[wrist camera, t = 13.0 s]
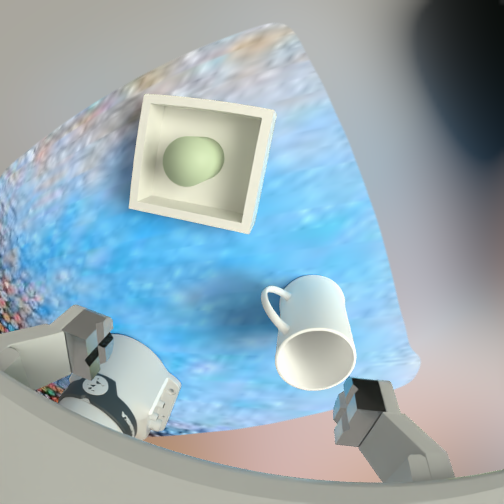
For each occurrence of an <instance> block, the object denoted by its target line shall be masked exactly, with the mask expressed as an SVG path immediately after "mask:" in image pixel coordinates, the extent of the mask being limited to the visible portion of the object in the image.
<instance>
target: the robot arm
mask: <svg viewBox="0 0 504 504" xmlns="http://www.w3.org/2000/svg"><path fill="white" fill-rule="evenodd" d="M112 329H113V321H112V319H111V318H110V317H108V316H105V315H103V314H100V313H98V312H95V311H92V310H90V309H87V308H84V307H82V306H79V305H73V306H72V307H70V308H69V309H68V310H67V311H66V312H64V313H63V314H62V315H61V316H60V317H58V318H57V319H56V320H55V321H54V322H53V323H51V324H50V325H48V324H43V325H39V326H34V327H30V328H25V329H21V330H16V331H12V332H7V333H3V334H0V504H504V469H503V470H498V471H493V472H488V473H483V474H477V475H472V476H464V477H457V478H455V476H454V472H453V469H452V466H451V463H450V460H449V457H448V454H447V452H446V451H445V450H444V449H443V448H441V447H440V446H439V445H438V444H437V443H436V442H435V441H434V440H433V439H431V438H430V437H429V436H428V435H427V434H426V433H425V432H424V431H423V430H422V429H420V428H419V427H418V426H417V425H416V424H415V423H414V422H413V421H412V420H411V419H410V418H408V417H407V416H406V415H405V414H401V413H400V409H399V406H398V403H397V399H396V396H395V393H394V390H393V387H392V384H391V382H390V381H384V380H371V379H364V378H357V377H350V376H349V377H348V378H347V379H346V381H345V383H344V391H343V392H342V393H340V394H339V395H338V397H337V399H336V401H335V405H334V410H333V420H334V421H335V422H336V423H337V426H336V427H335V429H334V433H335V444H337V445H346V446H354V447H359V450H360V451H361V453H362V454H363V455H364V457H365V458H366V460H367V461H368V462H369V464H370V465H371V467H372V468H373V469H374V471H375V472H376V474H377V475H378V476H379V478H380V479H381V481H382V482H383V483H364V482H339V481H325V480H314V479H304V478H296V477H288V476H281V475H274V474H268V473H262V472H256V471H251V470H246V469H241V468H236V467H232V466H227V465H223V464H219V463H214V462H210V461H206V460H202V459H199V458H195V457H192V456H188V455H185V454H181V453H178V452H175V451H172V450H168V449H165V448H162V447H159V446H156V445H153V444H150V443H147V442H144V441H142V440H143V439H146V438H147V436H148V434H149V432H150V430H155V431H158V432H159V430H164V428H165V427H166V424H167V422H168V419H169V417H170V414H171V412H172V409H173V406H174V404H175V401H176V399H177V396H178V394H179V391H180V389H181V383H180V381H179V380H178V379H177V378H175V377H174V376H173V375H172V374H170V373H169V372H168V371H167V370H166V368H165V367H164V365H163V364H162V362H161V361H160V359H159V358H158V357H157V356H156V355H155V354H154V353H153V352H152V351H151V350H150V349H149V348H148V347H146V346H145V345H143V344H142V343H140V342H139V341H137V340H135V339H133V338H130V337H128V336H124V335H120V334H111V333H110V331H111V330H112ZM71 373H72V375H71V376H70V378H69V381H70V385H69V386H68V387H67V388H65V390H64V391H63V393H62V395H61V396H60V398H59V401H58V403H56V402H54V401H52V400H50V399H48V398H46V397H45V396H43V395H41V394H39V393H37V392H36V391H34V390H37V389H39V388H41V387H43V386H46V385H48V384H50V383H52V382H55V381H57V380H59V379H61V378H64V377H66V376H68V375H70V374H71Z"/></svg>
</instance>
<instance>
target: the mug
mask: <svg viewBox="0 0 504 504" xmlns="http://www.w3.org/2000/svg"><path fill="white" fill-rule="evenodd" d="M268 292H272V293H275V294H277V295H279V296H281V297H280V302H279V309H280V317H279V316H278V315H277V314H276V312H275V311H274V309H273V308H272V306H271V304H270V302H269V300H268V296H267V293H268ZM261 301H262V305H263V307H264V310H265V312H266V313H267V315H268V317H269V318H270V319H271V321H272V322H273V323H274V325H275V326H276V327H277V328H278V338H277V347H276V355H275V365H276V369H277V371H278V373H279V375H280V376H281V378H282V379H283V380H284V381H286V382H287V383H288V384H290V385H292V386H294V387H296V388H299V389H303V390H310V391H316V390H324V389H328V388H331V387H333V386H335V385H337V384H339V383H341V382H342V381H343V380H345V379H346V378H347V377H348V376H349V375H350V373H351V372H352V370H353V368H354V366H355V363H356V350H355V346H354V342H353V337H352V333H351V329H350V325H349V321H348V317H347V313H346V309H345V298H344V294H343V292H342V290H341V288H340V287H339V286H338V285H337V284H336V283H335V282H334V281H333V280H331V279H329V278H327V277H324V276H320V275H306V276H302V277H299V278H297V279H295V280H294V281H292V282H291V283H290V284H289V285H288V286H287V287H286V288H285V289H284V290H283V289H282V288H279V287H276V286H268V287H266V288H265V289H264V290H263V291H262V294H261Z"/></svg>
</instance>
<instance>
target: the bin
mask: <svg viewBox="0 0 504 504" xmlns="http://www.w3.org/2000/svg"><path fill="white" fill-rule="evenodd" d="M276 117H277V114H276V112H275V111H274V110H271V109H265V108H260V107H254V106H248V105H242V104H236V103H229V102H222V101H215V100H207V99H198V98H189V97H179V96H168V95H155V94H144V98H143V104H142V110H141V115H140V121H139V128H138V134H137V141H136V148H135V155H134V163H133V172H132V180H131V190H130V201H129V209H134V210H139V211H143V212H148V213H153V214H158V215H162V216H167V217H172V218H177V219H181V220H186V221H190V222H195V223H200V224H204V225H209V226H213V227H218V228H223V229H227V230H232V231H236V232H241V233H245V234H250V232H251V230H252V228H253V226H254V224H255V220H256V215H257V210H258V205H259V200H260V195H261V190H262V185H263V180H264V175H265V170H266V166H267V161H268V156H269V151H270V146H271V141H272V136H273V131H274V126H275V121H276ZM184 136H194V137H209V138H212V139H214V140H215V141H217V142H218V143H219V144H220V146H221V147H222V149H223V152H224V164H223V167H222V169H221V171H220V172H219V173H218V174H217V175H216V176H214V177H212V178H210V179H208V180H206V181H203V182H201V183H199V184H197V185H194V186H190V187H183V186H179V185H177V184H175V183H173V182H172V181H171V180H170V179H169V178H168V177H167V175H166V174H165V171H164V168H163V155H164V152H165V150H166V148H167V147H168V145H169V144H170V143H171V142H172V141H174V140H175V139H177V138H180V137H184Z"/></svg>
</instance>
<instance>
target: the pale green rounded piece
mask: <svg viewBox="0 0 504 504" xmlns="http://www.w3.org/2000/svg"><path fill="white" fill-rule="evenodd" d="M223 164H224V152H223V149H222V147H221V146H220V144H219V143H218V142H217V141H215V140H214V139H212V138H209V137H194V136H184V137H180V138H177V139H175V140H174V141H172V142H171V143H170V144H169V145H168V147H167V148H166V150H165V152H164V155H163V168H164V171H165V174H166V175H167V177H168V178H169V179H170V180H171V181H172V182H173V183H175V184H177V185H179V186H183V187H190V186H194V185H197V184H199V183H201V182H203V181H206V180H208V179H210V178H212V177H214V176H216V175H217V174H218V173H219V172H220V171H221V169H222V167H223Z"/></svg>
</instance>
